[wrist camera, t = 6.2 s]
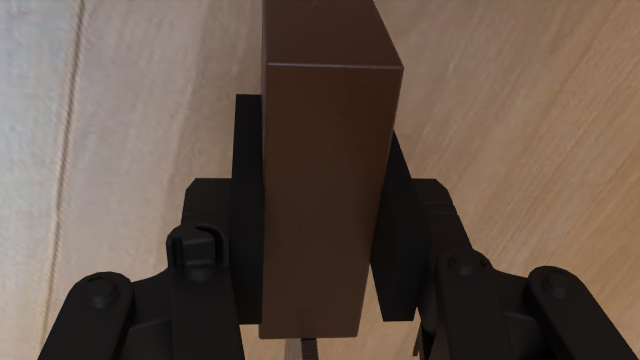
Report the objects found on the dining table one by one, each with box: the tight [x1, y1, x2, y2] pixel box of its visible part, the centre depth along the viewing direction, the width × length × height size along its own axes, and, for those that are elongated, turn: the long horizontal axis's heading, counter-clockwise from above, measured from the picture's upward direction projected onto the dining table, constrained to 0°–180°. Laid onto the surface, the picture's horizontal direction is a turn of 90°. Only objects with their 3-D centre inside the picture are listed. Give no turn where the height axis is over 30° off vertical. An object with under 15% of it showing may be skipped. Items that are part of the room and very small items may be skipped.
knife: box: [259, 0, 404, 360], centre depth 21 cm, size 23×3×6 cm, turn 176°
